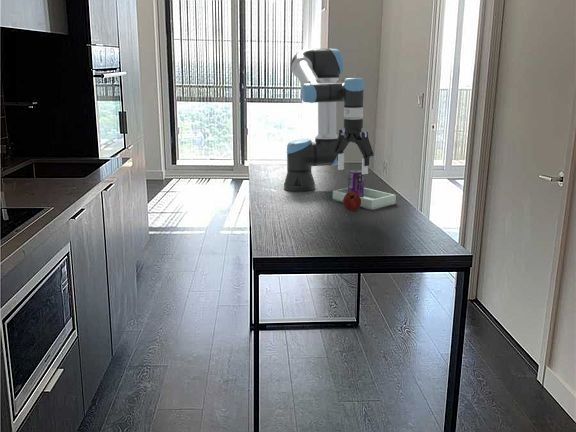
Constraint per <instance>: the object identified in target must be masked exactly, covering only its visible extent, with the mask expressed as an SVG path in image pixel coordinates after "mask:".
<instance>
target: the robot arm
mask: <svg viewBox="0 0 576 432" xmlns="http://www.w3.org/2000/svg"><path fill="white" fill-rule="evenodd" d="M290 70H291V71H290V72H292V73H291V74H293V75H294V77H296V78H297V79H298V81H299V84H301V91H300V92H301V93H300V95H301V100H302V102H303V103H310V104H313V103H315V104H316V103H317V130H318V133H317V135H316V136H315V138H314V141H312V139H311V138H299V139H294V140H291V141H289V142H288V143H287V145H286V163H287V164H286V165H287V166H286V167H287V169H286V170H287V171H286V176H285V180H284V183H283V189H284V190H285V191H288V192H309V191H313V190H315V189H316V182H315V179H314V175H313V174H312V172H313V171H312V167H324V166H325V167H328V166H329V167H331V166H337V171H340V170H341V171H342V170H345V153H344V152H345V149H346V148H347V146H348V145H349V144H350V143H353V144H355V145H357V148H358V149H359V151H360V153H361V155H362V158H361V170H362V174H364V175H368V174H369V166H370V158H371V157H373V156H374V155H375V154H374V151H373V148H372V145H371V142H370V139H369V133H368V131H362V129H363V127H364V120H363V118H364V88H365V86H364V79H363V78H362V77H347V78H344V82H338V81H339V79H340V75H341V76H342V75H343V72H344V59H343V55H342V53H341V51H340V50H339V49H338V48H329V47H328V48H305V49H301V50H300V51H298V52H297V53H296V54H294V56H292V58H291V62H290ZM338 102H339V103H340V102H341V103H342V102H343V118H344V119H343V129H339V131H338V134H337V103H338Z"/></svg>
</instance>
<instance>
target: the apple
mask: <svg viewBox="0 0 576 432" xmlns="http://www.w3.org/2000/svg"><path fill="white" fill-rule="evenodd" d="M360 205H361V198H360V196H359V195H358V194H357V193H356V192H348V193H347V194H346V195H345V196H344V199H343V202H342V206H343V208H344V209H345V210H347V211H348V212H349V211H350V212H353V211H357V210H358V209H359V208H361V207H360Z"/></svg>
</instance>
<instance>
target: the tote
mask: <svg viewBox="0 0 576 432" xmlns="http://www.w3.org/2000/svg"><path fill="white" fill-rule="evenodd" d="M347 193H348V187H344V188H340V189H339V188H338V189H335V190H332V200H333V201H337V202H341V203H343V199H344V196H345V195H346V194H347ZM396 197H397V194H393V193H389V192H385V191H380V190H376V189H373V188H372V189H371V188H366V187H364V197H360V198H361V205H360V207H359V208H364V209H366V210H371V211H373V210H377V209H382V208H385V207H388V206H389V207H390V206H393V205H396V201H397V200H396Z"/></svg>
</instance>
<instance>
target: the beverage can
mask: <svg viewBox="0 0 576 432" xmlns="http://www.w3.org/2000/svg"><path fill="white" fill-rule="evenodd" d="M347 188H348V192H356V193H357V194H358V195H359V196H360V197H364V188H365V174H362V169H350V170H348V174H347Z"/></svg>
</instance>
